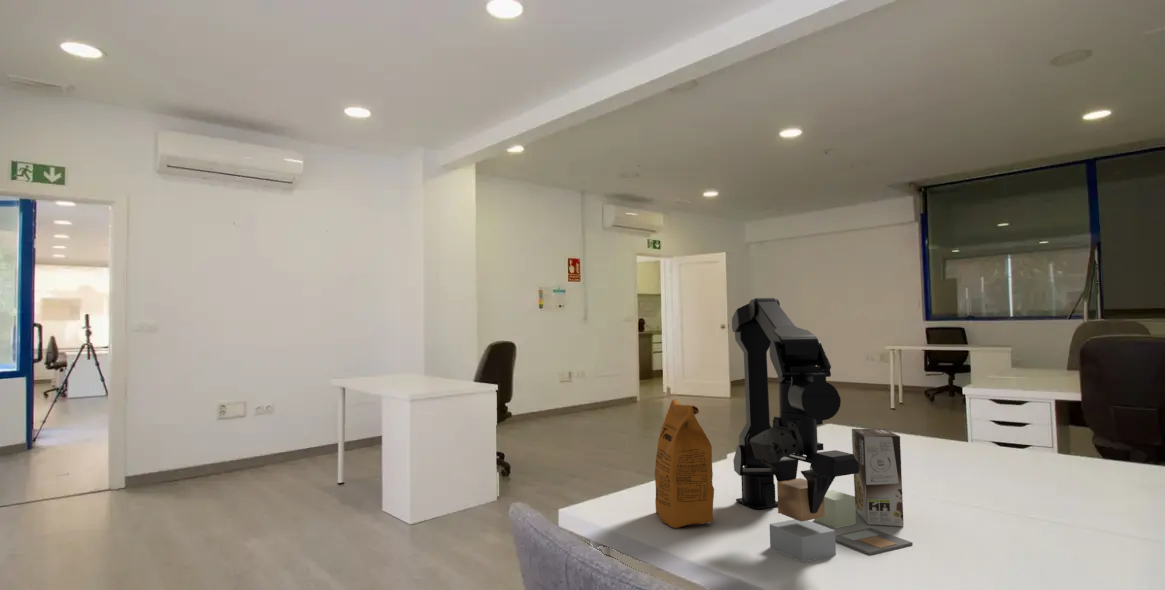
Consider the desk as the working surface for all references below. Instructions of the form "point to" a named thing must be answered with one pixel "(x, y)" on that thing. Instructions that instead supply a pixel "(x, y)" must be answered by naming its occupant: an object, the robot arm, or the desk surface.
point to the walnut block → (796, 500)
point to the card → (871, 541)
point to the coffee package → (683, 469)
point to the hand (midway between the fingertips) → (800, 508)
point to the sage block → (838, 509)
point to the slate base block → (802, 540)
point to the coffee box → (878, 476)
